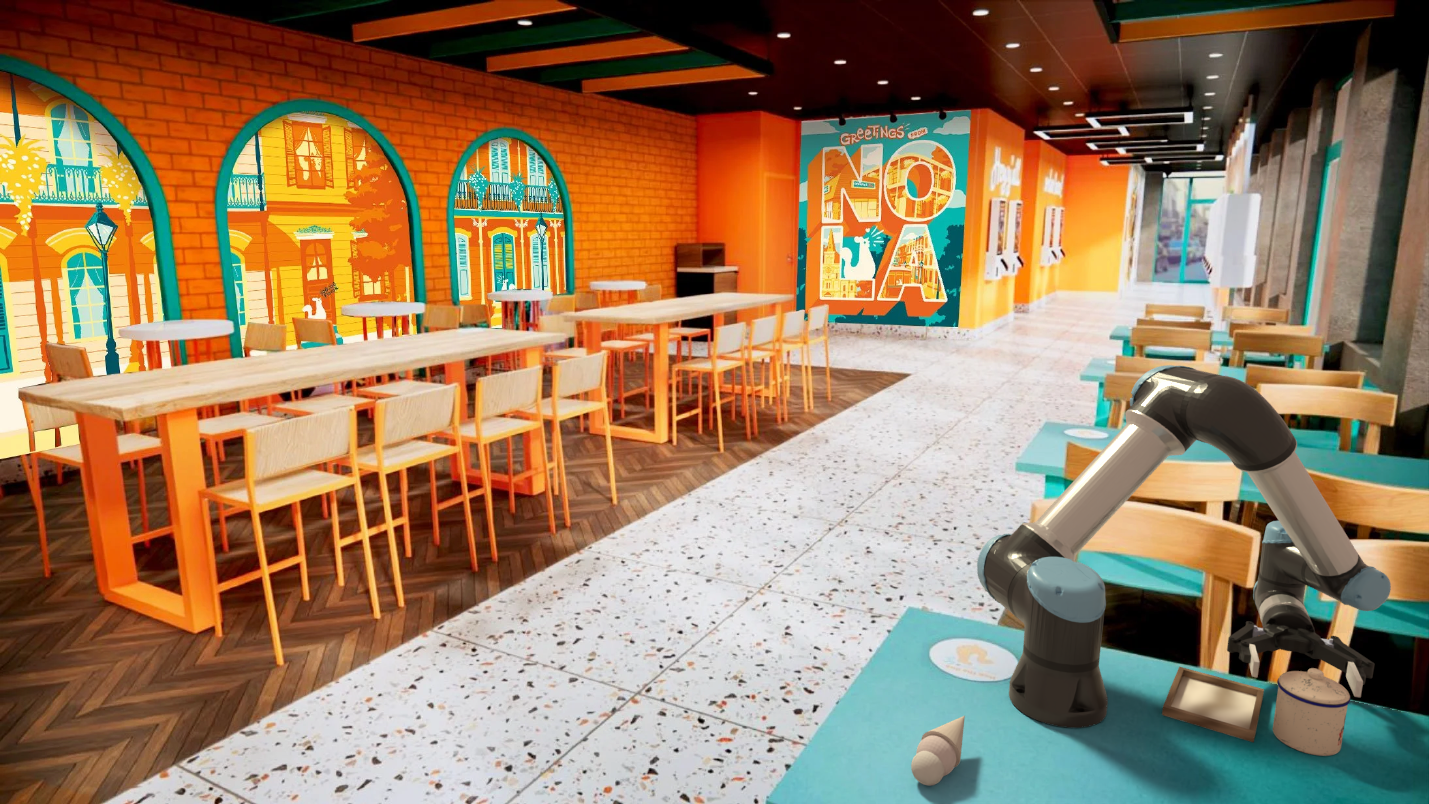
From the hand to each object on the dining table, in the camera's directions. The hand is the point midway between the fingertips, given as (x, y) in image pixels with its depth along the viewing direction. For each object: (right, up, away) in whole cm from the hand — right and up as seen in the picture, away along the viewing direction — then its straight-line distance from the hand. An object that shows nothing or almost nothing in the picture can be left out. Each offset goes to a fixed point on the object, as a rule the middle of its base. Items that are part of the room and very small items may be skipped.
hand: (1306, 679), depth 133 cm
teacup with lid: (-3, -8, -3) cm, 9 cm away
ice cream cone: (-60, -10, -9) cm, 62 cm away
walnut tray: (-12, -6, +5) cm, 14 cm away
